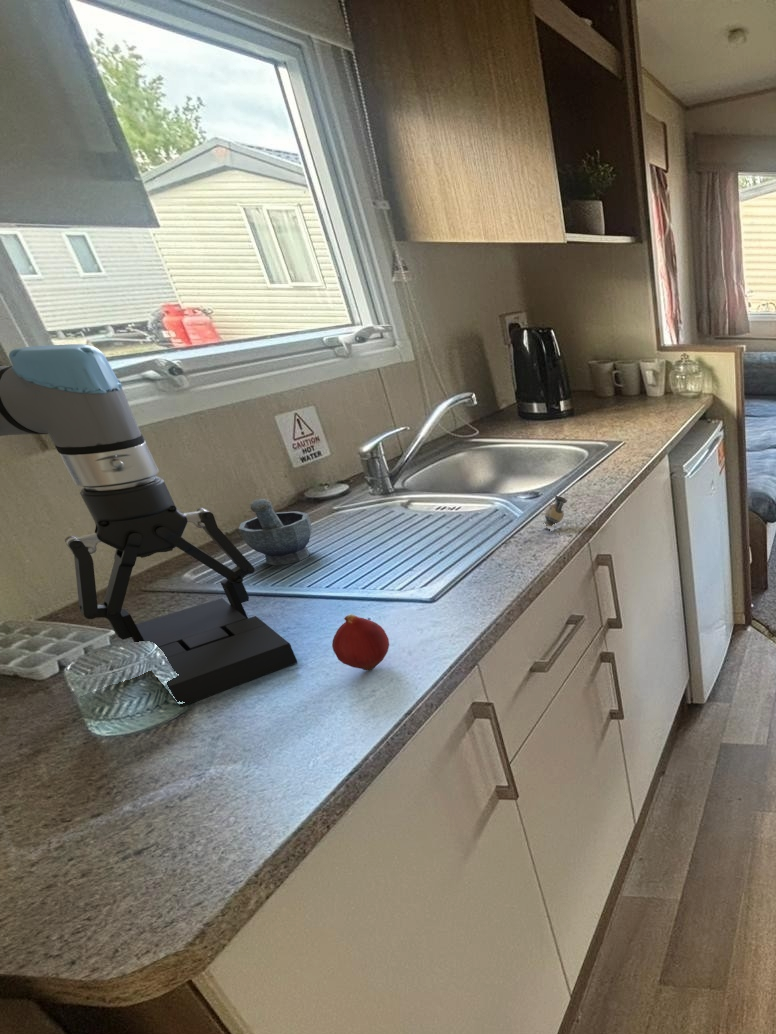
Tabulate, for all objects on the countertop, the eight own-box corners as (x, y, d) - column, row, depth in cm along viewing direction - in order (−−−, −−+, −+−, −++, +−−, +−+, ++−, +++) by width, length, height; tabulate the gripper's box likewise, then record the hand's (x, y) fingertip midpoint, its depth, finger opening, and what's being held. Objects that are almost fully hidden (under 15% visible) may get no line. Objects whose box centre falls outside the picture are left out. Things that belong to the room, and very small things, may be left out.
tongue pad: (141, 644, 89) (130, 625, 88) (230, 616, 96) (222, 597, 95) (170, 678, 82) (159, 658, 80) (264, 645, 89) (256, 625, 87)
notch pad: (152, 672, 83) (141, 652, 81) (263, 634, 91) (255, 615, 90) (180, 707, 76) (169, 686, 75) (297, 662, 85) (289, 643, 84)
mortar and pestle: (259, 553, 116) (232, 488, 111) (321, 543, 121) (299, 480, 115) (250, 577, 108) (220, 507, 102) (318, 565, 112) (293, 498, 106)
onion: (362, 656, 86) (343, 602, 83) (405, 657, 86) (388, 603, 83) (333, 681, 81) (311, 625, 78) (378, 682, 81) (358, 626, 78)
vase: (565, 520, 132) (560, 491, 129) (577, 527, 128) (572, 498, 126) (539, 526, 129) (533, 497, 126) (550, 534, 125) (545, 504, 122)
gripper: (-13, 513, 69) (91, 687, 80) (243, 466, 86) (302, 615, 96) (-23, 499, 73) (78, 666, 84) (224, 457, 89) (283, 601, 100)
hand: (197, 639), depth 90 cm, fingers closed on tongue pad, 10 cm apart
